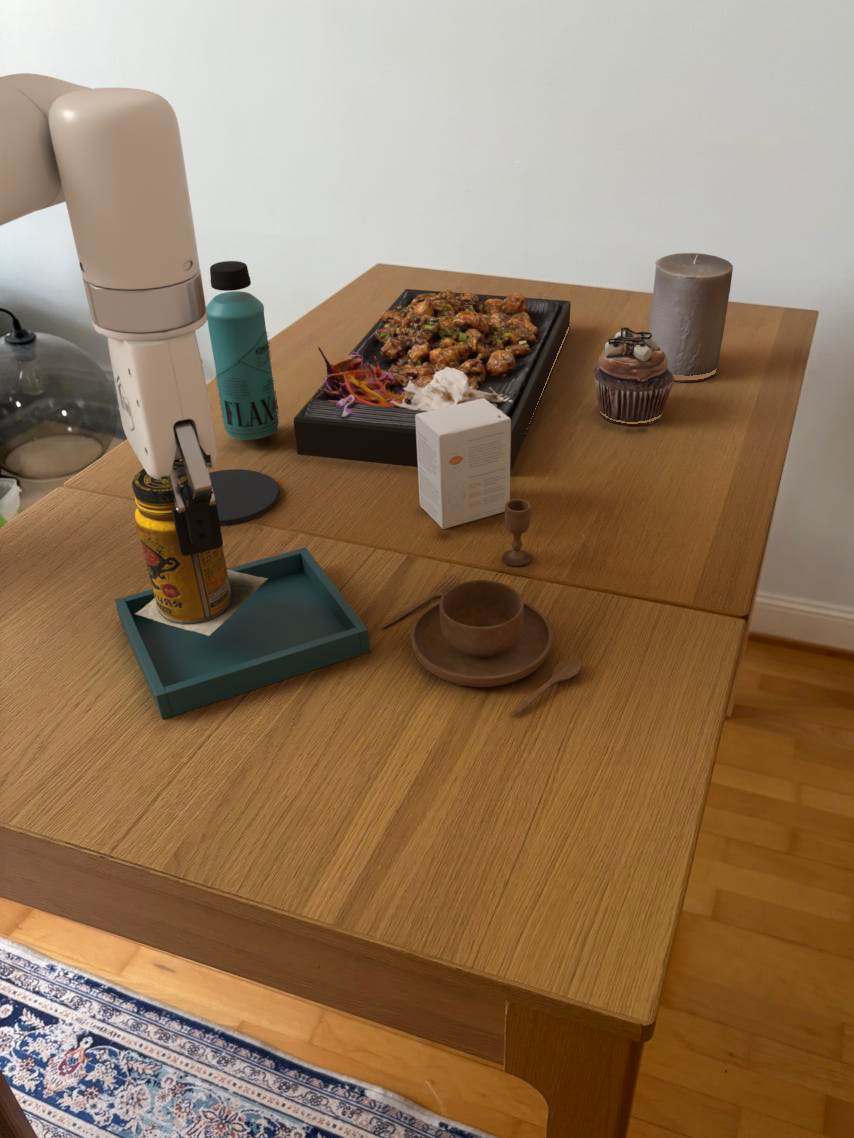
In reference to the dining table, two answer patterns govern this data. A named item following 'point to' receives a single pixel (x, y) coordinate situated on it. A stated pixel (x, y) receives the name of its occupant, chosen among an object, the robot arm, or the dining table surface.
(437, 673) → the place setting
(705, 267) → the pillar candle
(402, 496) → the dining table surface
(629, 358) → the cupcake
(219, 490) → the mat
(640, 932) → the dining table surface
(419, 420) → the small box
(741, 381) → the dining table surface
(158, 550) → the condiment
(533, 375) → the food platter
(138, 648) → the tray
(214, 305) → the beverage bottle
